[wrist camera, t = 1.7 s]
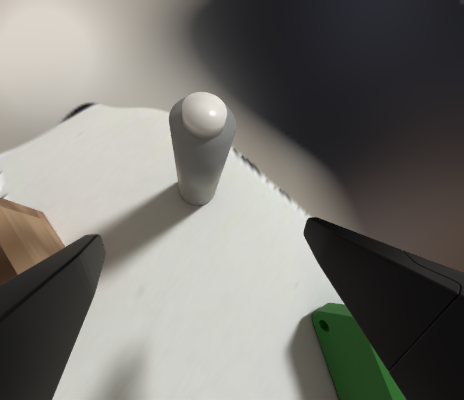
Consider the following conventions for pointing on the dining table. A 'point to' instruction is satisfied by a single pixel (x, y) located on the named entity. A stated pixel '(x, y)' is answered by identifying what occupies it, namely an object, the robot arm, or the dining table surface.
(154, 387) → the dining table surface
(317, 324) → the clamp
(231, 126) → the white rounded cylinder
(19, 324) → the robot arm
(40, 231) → the end holder
